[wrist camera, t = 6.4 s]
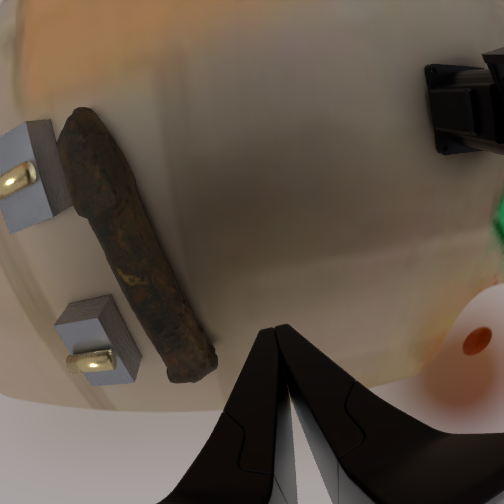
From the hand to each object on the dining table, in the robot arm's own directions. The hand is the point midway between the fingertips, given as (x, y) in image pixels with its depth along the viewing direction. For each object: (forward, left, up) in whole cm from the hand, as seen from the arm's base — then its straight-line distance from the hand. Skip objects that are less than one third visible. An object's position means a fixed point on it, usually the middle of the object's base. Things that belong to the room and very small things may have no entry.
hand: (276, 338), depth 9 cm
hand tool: (+8, 0, -12) cm, 14 cm away
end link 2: (+13, +6, -12) cm, 18 cm away
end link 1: (+13, -7, -12) cm, 19 cm away
